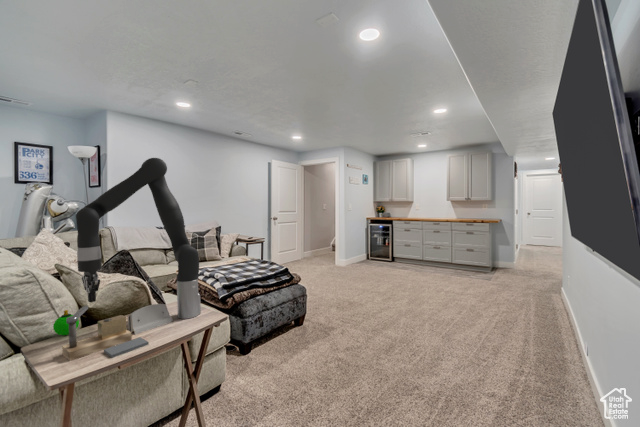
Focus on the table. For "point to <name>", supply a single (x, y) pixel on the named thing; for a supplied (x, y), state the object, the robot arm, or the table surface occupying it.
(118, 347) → the mat
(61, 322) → the ornament
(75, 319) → the lever
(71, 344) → the wooden base stand
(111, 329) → the tan rectangular block
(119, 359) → the table surface
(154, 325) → the grey upright curved plate
